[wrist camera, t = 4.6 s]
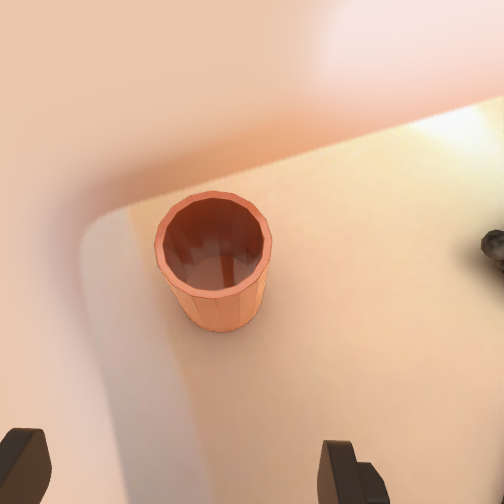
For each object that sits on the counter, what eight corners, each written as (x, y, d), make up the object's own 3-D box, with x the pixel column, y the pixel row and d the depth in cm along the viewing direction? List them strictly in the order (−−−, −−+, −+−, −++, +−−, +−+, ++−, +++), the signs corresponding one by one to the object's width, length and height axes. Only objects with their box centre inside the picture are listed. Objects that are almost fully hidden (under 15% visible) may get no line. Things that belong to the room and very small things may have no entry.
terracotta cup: (235, 348, 25) (233, 320, 17) (164, 305, 26) (131, 261, 18) (276, 277, 27) (291, 223, 19) (208, 240, 28) (196, 173, 20)
